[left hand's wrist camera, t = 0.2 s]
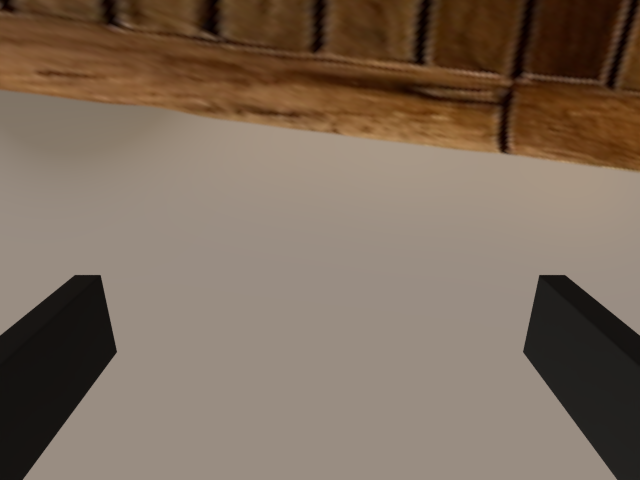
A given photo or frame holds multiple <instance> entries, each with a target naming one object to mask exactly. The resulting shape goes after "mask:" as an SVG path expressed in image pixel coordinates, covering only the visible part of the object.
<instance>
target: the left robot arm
mask: <svg viewBox="0 0 640 480" xmlns="http://www.w3.org/2000/svg"><path fill="white" fill-rule="evenodd" d="M523 352H524V354H525V355H526V357H527V358H528V359H529V361H530V362H531V363H532V365H533V366H534V367H535V369H536V370H537V371H538V373H539V374H540V375H541V377H542V378H543V380H544V381H545V382H546V384H547V385H548V386H549V388H550V389H551V390H552V392H553V393H554V395H555V396H556V397H557V399H558V400H559V401H560V403H561V404H562V405H563V407H564V408H565V409H566V411H567V412H568V414H569V415H570V416H571V418H572V419H573V420H574V422H575V423H576V424H577V426H578V427H579V428H580V430H581V431H582V432H583V434H584V435H585V437H586V438H587V439H588V441H589V442H590V443H591V445H592V446H593V447H594V449H595V450H596V451H597V453H598V454H599V456H600V457H601V458H602V460H603V461H604V462H605V464H606V465H607V466H608V468H609V469H610V470H611V472H612V473H613V474H614V476H615V477H616V479H617V480H640V335H638V334H637V333H636V332H635V331H633V330H632V329H631V328H630V327H628V326H627V325H626V324H625V323H623V322H622V321H621V320H620V319H619V318H617V317H616V316H615V315H614V314H612V313H611V312H610V311H609V310H607V309H606V308H605V307H604V306H602V305H601V304H600V303H599V302H598V301H596V300H595V299H594V298H593V297H591V296H590V295H589V294H588V293H586V292H585V291H584V290H583V289H581V288H580V287H579V286H578V285H577V284H575V283H574V282H573V281H572V280H570V279H569V278H568V277H567V276H565V275H539V280H538V284H537V289H536V294H535V298H534V303H533V308H532V313H531V317H530V322H529V327H528V331H527V336H526V341H525V346H524V350H523ZM116 353H117V350H116V345H115V341H114V336H113V331H112V327H111V322H110V317H109V313H108V308H107V303H106V298H105V294H104V289H103V284H102V280H101V275H75V276H73V277H72V278H71V279H70V280H68V281H67V282H66V283H65V284H63V285H62V286H61V287H60V288H59V289H57V290H56V291H55V292H54V293H52V294H51V295H50V296H49V297H47V298H46V299H45V300H44V301H42V302H41V303H40V304H39V305H38V306H36V307H35V308H34V309H33V310H31V311H30V312H29V313H28V314H26V315H25V316H24V317H23V318H21V319H20V320H19V321H18V322H16V323H15V324H14V325H13V326H12V327H10V328H9V329H8V330H7V331H5V332H4V333H3V334H2V335H0V480H23V479H24V477H25V476H26V474H27V473H28V472H29V470H30V469H31V468H32V466H33V465H34V464H35V462H36V461H37V460H38V458H39V457H40V456H41V454H42V453H43V451H44V450H45V449H46V447H47V446H48V445H49V443H50V442H51V441H52V439H53V438H54V437H55V435H56V434H57V432H58V431H59V430H60V428H61V427H62V426H63V424H64V423H65V422H66V420H67V419H68V418H69V416H70V415H71V413H72V412H73V411H74V409H75V408H76V407H77V405H78V404H79V403H80V401H81V400H82V399H83V397H84V396H85V395H86V393H87V392H88V390H89V389H90V388H91V386H92V385H93V384H94V382H95V381H96V380H97V378H98V377H99V376H100V374H101V373H102V372H103V370H104V369H105V367H106V366H107V365H108V363H109V362H110V361H111V359H112V358H113V357H114V355H115V354H116Z"/></svg>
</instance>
